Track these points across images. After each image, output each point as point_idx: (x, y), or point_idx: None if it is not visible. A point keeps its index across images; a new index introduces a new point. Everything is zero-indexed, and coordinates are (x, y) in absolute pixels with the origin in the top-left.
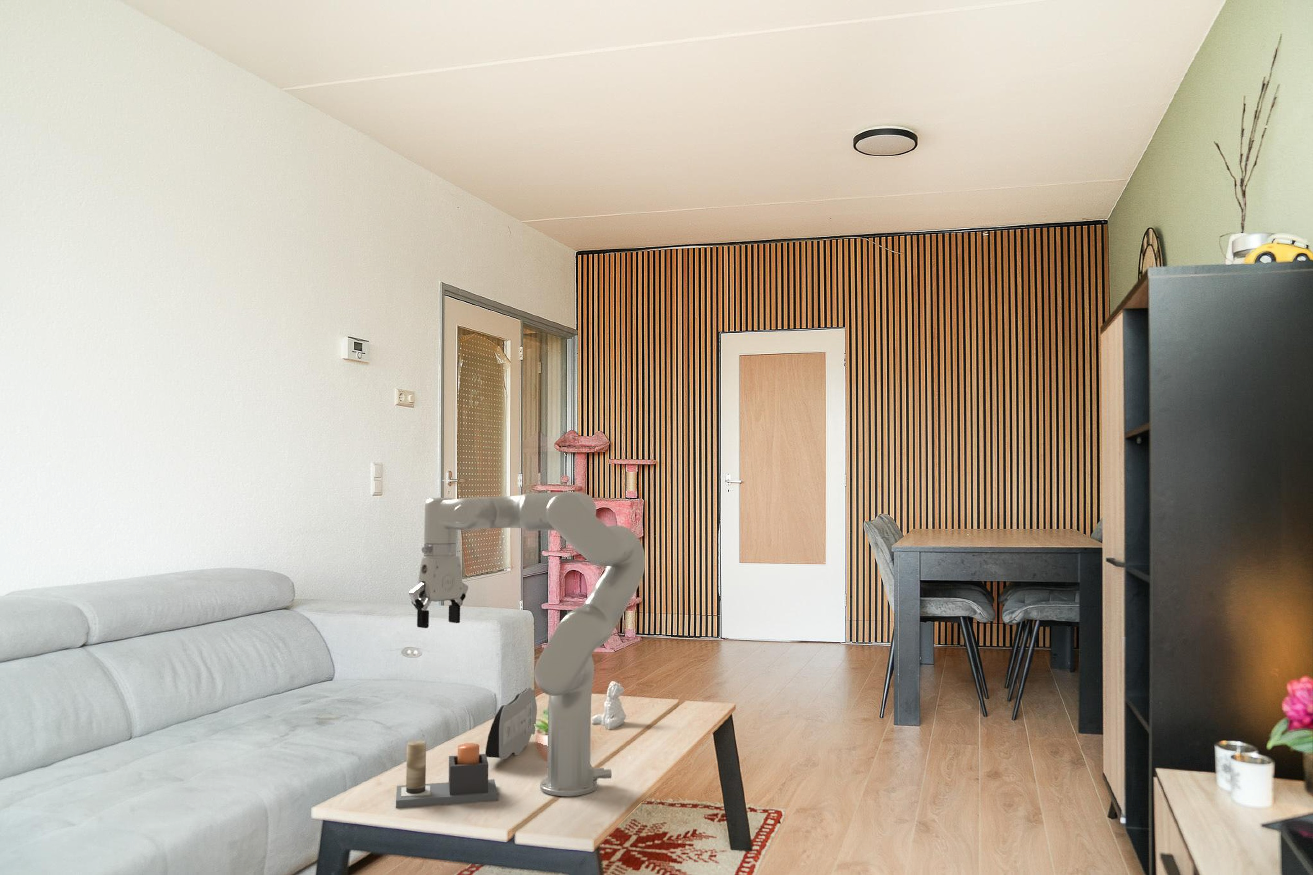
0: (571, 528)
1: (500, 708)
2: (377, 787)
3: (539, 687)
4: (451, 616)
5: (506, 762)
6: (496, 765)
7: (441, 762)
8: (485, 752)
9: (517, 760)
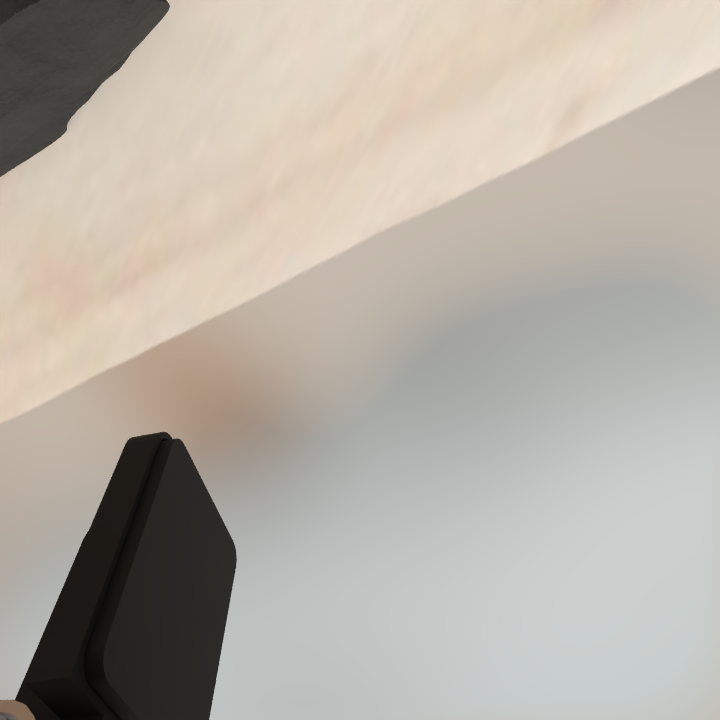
0: None
1: (15, 8)
2: (607, 73)
3: None
4: (205, 583)
5: None
6: None
7: (282, 188)
8: (167, 3)
9: None
